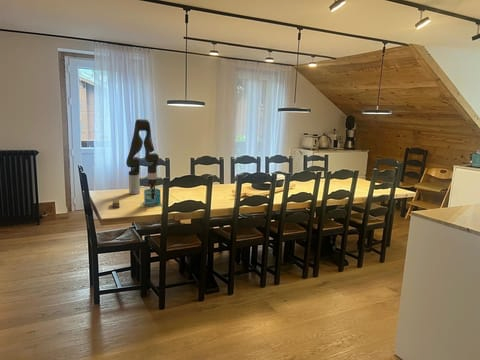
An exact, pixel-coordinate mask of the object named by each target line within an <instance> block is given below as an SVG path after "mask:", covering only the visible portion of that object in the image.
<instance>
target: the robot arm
mask: <svg viewBox="0 0 480 360" xmlns="http://www.w3.org/2000/svg"><path fill="white" fill-rule="evenodd" d="M140 131H141V132H144V131H145V132H146V134H145V137H144V140H143V139H142V137H141V135H140ZM143 147H144V152H145V155H144V160H145V162H147V163H152V164H148V165H147V174H146V175H147V176H146V179H147V185H149V189H150V190H152V191H151V195H152V199H154V195H155V188H156V186H155V185H157V184H158V173H157V171H158V170H157V169H158V163H159V160H160V156H159V154H158V153H157V152H154V151H155V146H154V143H153V139H152V130H151V124H150V120H149V119H141V118H140V119H136V120H135V123H134V130H133V135H132V140H131V143H130V147H129V152H128V155H127V158H126V167H128V168H133V169H132V170H129V171H128V194H130V195H139V194H140V193H141V189H140V188H141V187H140V186H141V185H140V180H141V179H140V169H141V168H140V167H141V166H140V165H141V163H140V162H141V160H140V158H139V157H138V156H136V155H137V154H138V153H139V152H141V150H142V149H143ZM152 192H154V193H152Z"/></svg>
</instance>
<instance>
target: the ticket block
mask: <svg viewBox="0 0 480 360" xmlns="http://www.w3.org/2000/svg"><path fill="white" fill-rule="evenodd" d="M112 209H120V199H119V198H117V199H116V198H115V199H112Z"/></svg>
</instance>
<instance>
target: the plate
mask: <svg viewBox="0 0 480 360" xmlns="http://www.w3.org/2000/svg"><path fill="white" fill-rule="evenodd" d="M140 204H141V207H142V208H143V207H144V208H147V207H163V204H162V202H161V201H160V203H159V204H152V205H147V204H145V202H140Z"/></svg>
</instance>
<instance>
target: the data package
mask: <svg viewBox="0 0 480 360" xmlns="http://www.w3.org/2000/svg"><path fill="white" fill-rule="evenodd" d="M151 191H152V190H150V188H145V189H144V192H143V196H144V197H143V198H144V200H143V201H144V202H145V204H147V205H152V204H159V203H160V202H161V189H159V188H156V187H155V195H154V199H152V195H151ZM152 193H154V192H152Z"/></svg>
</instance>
